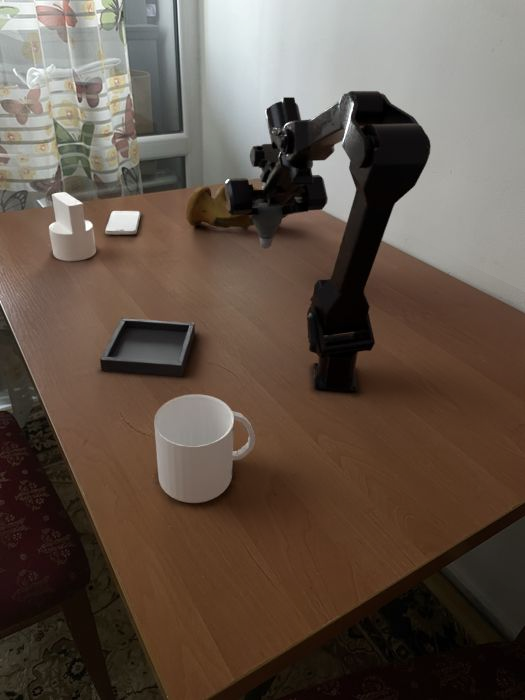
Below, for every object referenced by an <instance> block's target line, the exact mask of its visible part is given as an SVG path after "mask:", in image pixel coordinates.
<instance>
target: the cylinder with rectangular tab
mask: <svg viewBox="0 0 525 700" xmlns="http://www.w3.org/2000/svg"><path fill="white" fill-rule="evenodd" d="M51 199H52V206H53V211H54V212H53V213H54V217H55V221H54V222H52V223H51V224H50V225H49V226H48V232H49V238H50V244H51V249H52V254H53V255H52V256H53V257H54V258H56V259H57V260H61V261H66V262H76V261H77V262H78V261H84V260H87V259H90V258H92V257H93V256H95V254H96V253H97V248H96V240H95V232H94V225H93V223H92V222H91V221H90V220H88V219H87V220H86V219H85V212H84V211H85V210H84V203H83V202H82V201H80V200H78V199H77V198H75V197H74V196H73V195H70V194H69V193H67V192H66V191H62V192H56V193H52V194H51Z"/></svg>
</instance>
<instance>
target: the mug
mask: <svg viewBox="0 0 525 700" xmlns="http://www.w3.org/2000/svg"><path fill="white" fill-rule="evenodd" d="M235 421H236V422H238V423H239V422H240V423H241V424H242V425H243V426H244V427H245V429H246V431H247V433H248V437H247V442H246V443H245V444H244V445H243V446H242V447H241V448H239V449H238V450H234V424H235ZM153 425H154V438H155V439H154V440H155V449H156V462H157V476H158V483H159V485H160V487H161V489H162V490H163V491H164V492H165V493H166V494H167V495H168V496H169V497H171V498H172V499H174V500H176V501H178V502H183V503H185V504H186V503H187V504H200V503H206V502H208V501H211V500H213V499H216V498H217V497H219V496H220V495H221V494H223V493H224V492H225V491H226V490H227V488H228V487H229V485H230V484H231V482H232V477H233V463H234V462H233V461H237V460H243V458H245V457H246V456H248V455H249V454H250V453H251V452H252V451H253V450H254V449H255V444H256V435H255V431H254V428H253V426H252V424H251V422H250V420H249V419H248V418H247V417H246V416H244V415H243V414H242V413H241V412H238V411H234V410H232V409H231V408H230V406H229V405H228V404H227V403H226V402H224V401H223V400H221V399H220V398H216V397H214V396H212V395H207V394H201V393H200V394H199V393H198V394H197V393H196V394H193V393H192V394H184V395H180V396H177V397H174V398H172V399H170V400H168V401H166V402H165V403H163V404H162V405H161V406H160V407H159V409H158V410H157V411H156V413H155V415H154V420H153Z"/></svg>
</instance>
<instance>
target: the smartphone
mask: <svg viewBox="0 0 525 700" xmlns="http://www.w3.org/2000/svg"><path fill="white" fill-rule="evenodd" d="M140 219H141V212H140V211H138V210H113V211H111V213H110V215H109V218H108V220H107V223H106V226H105V228H104V233H105V235H112V236H117V235H118V236H120V235H136V234H137V232H138V227H139V223H140Z"/></svg>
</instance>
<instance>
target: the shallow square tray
mask: <svg viewBox="0 0 525 700" xmlns="http://www.w3.org/2000/svg"><path fill="white" fill-rule="evenodd" d="M195 335H196V323H194V322H184V321H182V322H180V321H167V320H153V319H141V318H126V317H121V319H120V321H119V323H118V325H117V327H116V329H115V331H114V333H113V335H112V336H111V338H110V340H109V341H108V343H107V346H106V348H105V349H104V351H103V353H102V355H101V357H100V358H99V363H100V367H101V369H100V370H101V371H102V372H111V373H112V372H113V373H124V374H125V373H126V374H137V375H151V376H164V377H165V376H167V377H179V378H180V377H181V378H182V377H183V375H184V373H185V372H184V371H185V368H186V365H187V361H188V359H189V355H190V351H191V348H192V346H193V342H194V338H195Z"/></svg>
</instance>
